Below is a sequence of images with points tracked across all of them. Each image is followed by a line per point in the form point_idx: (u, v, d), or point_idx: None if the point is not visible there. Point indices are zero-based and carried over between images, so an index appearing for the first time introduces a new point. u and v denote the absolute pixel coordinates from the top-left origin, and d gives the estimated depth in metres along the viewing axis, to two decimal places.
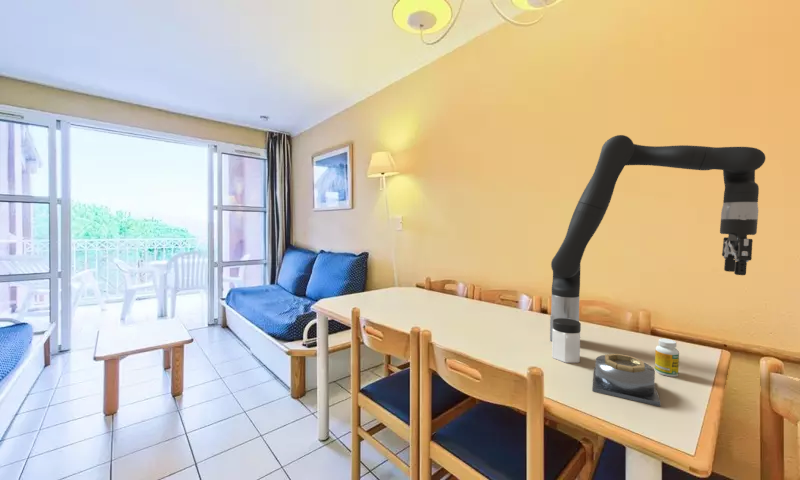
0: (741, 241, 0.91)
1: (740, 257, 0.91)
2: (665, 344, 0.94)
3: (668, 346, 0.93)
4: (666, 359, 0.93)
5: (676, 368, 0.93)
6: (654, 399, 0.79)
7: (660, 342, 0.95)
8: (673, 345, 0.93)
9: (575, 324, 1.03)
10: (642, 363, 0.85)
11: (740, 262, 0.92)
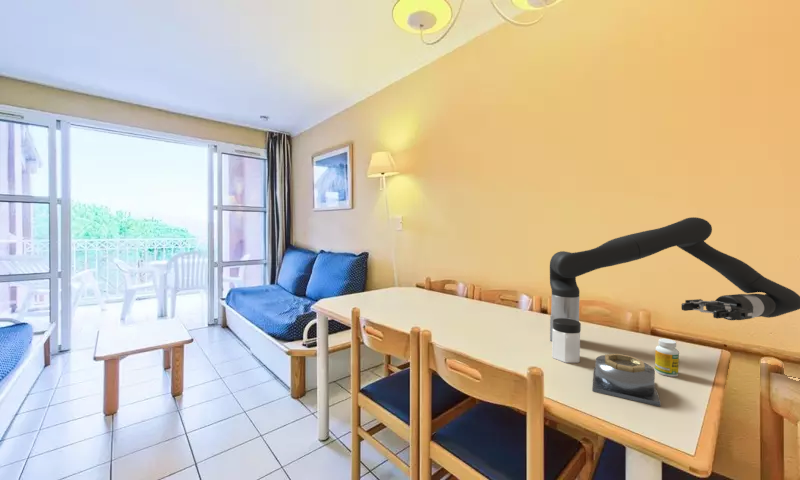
0: (751, 311, 0.92)
1: (740, 312, 0.91)
2: (665, 344, 0.94)
3: (668, 345, 0.93)
4: (666, 359, 0.93)
5: (676, 368, 0.93)
6: (654, 399, 0.79)
7: (660, 342, 0.95)
8: (673, 345, 0.93)
9: (575, 324, 1.03)
10: (642, 363, 0.85)
11: (729, 313, 0.92)
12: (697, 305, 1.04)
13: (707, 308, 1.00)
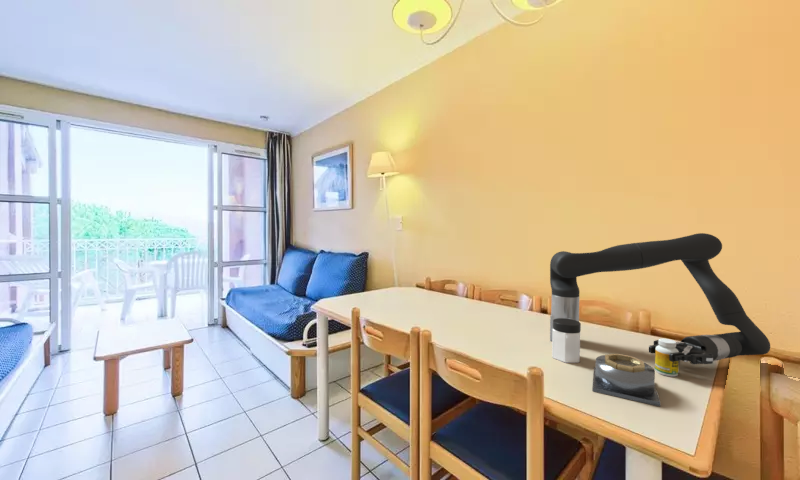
0: (711, 356, 0.90)
1: (695, 356, 0.90)
2: (665, 344, 0.94)
3: (668, 345, 0.93)
4: (666, 359, 0.93)
5: (676, 368, 0.93)
6: (654, 399, 0.79)
7: (660, 342, 0.95)
8: (673, 345, 0.93)
9: (575, 324, 1.03)
10: (642, 363, 0.85)
11: (684, 356, 0.91)
12: None
13: None
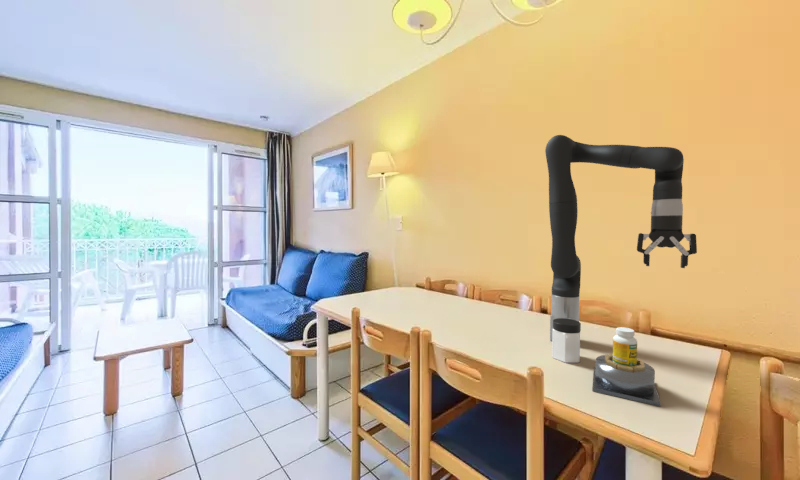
0: None
1: None
2: (622, 333, 0.86)
3: (625, 334, 0.85)
4: (623, 349, 0.85)
5: (634, 359, 0.85)
6: (654, 399, 0.79)
7: (617, 331, 0.87)
8: (630, 334, 0.85)
9: (575, 324, 1.03)
10: (642, 363, 0.85)
11: None
12: None
13: (658, 246, 1.02)
